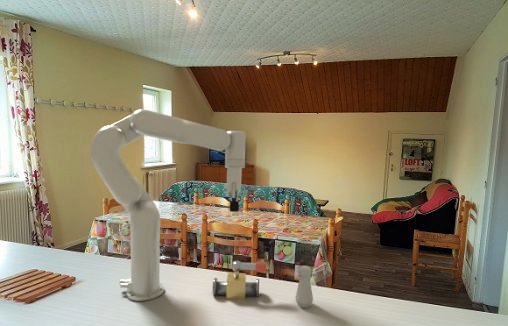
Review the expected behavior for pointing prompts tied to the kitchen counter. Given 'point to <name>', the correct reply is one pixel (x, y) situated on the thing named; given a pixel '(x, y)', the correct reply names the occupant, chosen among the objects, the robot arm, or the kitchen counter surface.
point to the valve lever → (249, 266)
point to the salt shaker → (304, 288)
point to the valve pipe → (236, 286)
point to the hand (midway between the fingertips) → (234, 211)
